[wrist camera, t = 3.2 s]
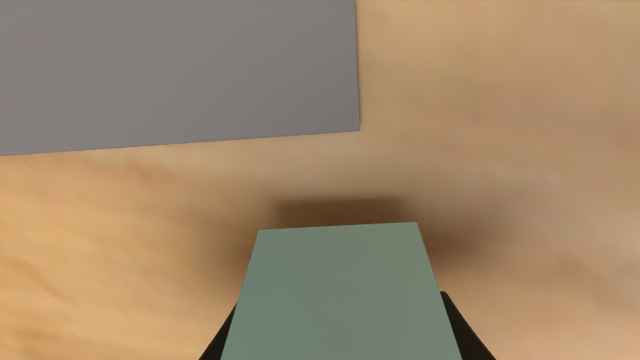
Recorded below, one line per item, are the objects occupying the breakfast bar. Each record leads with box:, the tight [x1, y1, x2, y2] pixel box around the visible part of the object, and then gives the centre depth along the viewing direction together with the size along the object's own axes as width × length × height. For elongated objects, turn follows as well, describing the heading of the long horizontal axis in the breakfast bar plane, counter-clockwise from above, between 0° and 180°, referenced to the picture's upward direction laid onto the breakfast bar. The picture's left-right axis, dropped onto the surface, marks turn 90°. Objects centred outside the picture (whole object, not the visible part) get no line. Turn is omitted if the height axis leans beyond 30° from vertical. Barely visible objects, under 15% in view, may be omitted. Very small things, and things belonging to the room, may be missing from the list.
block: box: [221, 222, 462, 360], centre depth 11 cm, size 5×5×5 cm
